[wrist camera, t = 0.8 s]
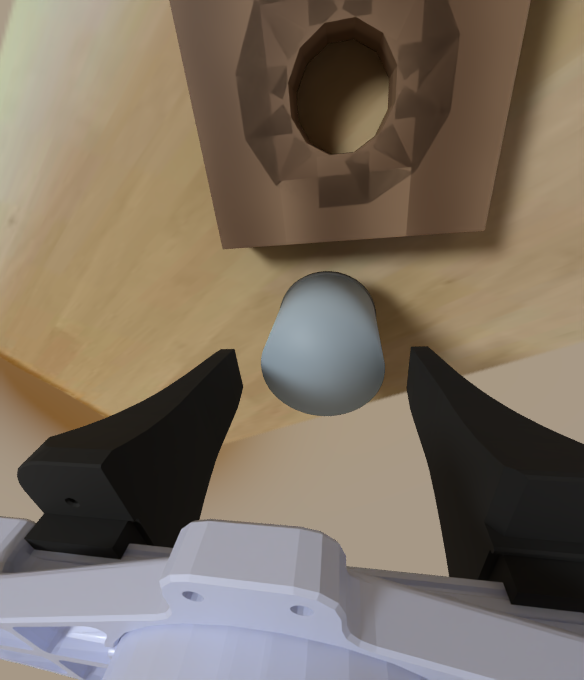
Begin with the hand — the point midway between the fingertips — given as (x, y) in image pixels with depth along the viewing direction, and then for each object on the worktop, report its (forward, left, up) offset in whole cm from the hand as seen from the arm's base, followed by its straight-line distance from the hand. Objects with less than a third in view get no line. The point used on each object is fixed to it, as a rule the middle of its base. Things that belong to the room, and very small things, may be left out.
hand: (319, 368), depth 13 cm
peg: (0, 0, -7) cm, 7 cm away
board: (-1, -10, -7) cm, 12 cm away
